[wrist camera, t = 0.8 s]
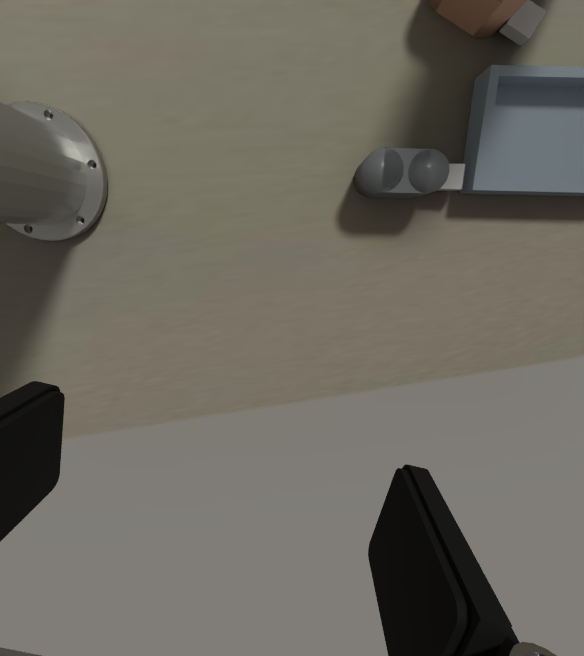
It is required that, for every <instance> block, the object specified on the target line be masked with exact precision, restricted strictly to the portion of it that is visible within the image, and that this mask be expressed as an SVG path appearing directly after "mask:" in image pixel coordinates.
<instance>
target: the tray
mask: <svg viewBox="0 0 584 656" xmlns="http://www.w3.org/2000/svg"><path fill="white" fill-rule="evenodd" d="M463 164H465V170H464V177H463V184H462V189H461V190H459V194H497V195H540V196H583V197H584V67H570V66H524V65H491V66H489V67H488V68H487V69H486V70H485V71H484V72H483V73H481V74H480V75H479V76H478V77H477V78H476V79H475V81H474V88H473V96H472V103H471V110H470V117H469V124H468V131H467V138H466V145H465V152H464V159H463Z"/></svg>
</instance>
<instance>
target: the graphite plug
mask: <svg viewBox="0 0 584 656" xmlns="http://www.w3.org/2000/svg"><path fill="white" fill-rule="evenodd" d="M464 170H465V164H449V162H448V160H447V158H446V156H445V155H444V154H443V153H442V152H440V151H439V150H436V149H418V148H379V149H377V150H375V151H373V152H372V153H371V154H370V155H369V156H368V157H367V158H366V159H365V160H364V161H363V162H362V163H361V164H360V166H359V167H358V168H357V170H356V172H355V177H354V182H355V186H356V188H357V190H358V191H359V193H360V194H362V195H363V196H365V197H370V198H416V197H419V196H423V195H426V194H429V193H432V192H435V191H437V190H444V191H457V190H461V189H462V184H463V177H464Z"/></svg>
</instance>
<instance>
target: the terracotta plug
mask: <svg viewBox="0 0 584 656" xmlns="http://www.w3.org/2000/svg"><path fill="white" fill-rule="evenodd" d="M428 3H429V5H430V7H431V8H432V9H433V10H434V11H435V12H437V13H438V14H440V15H441V16H443V17H444V18H446V19H447V20H449V21H450V22H452V23H454V24H455V25H457V26H458V27H460V28H461V29H463V30H464V31H466V32H467V33H469V34H470V35H472V36H473V37H476V38H480V39H483V38H488V37H490V36H492V35H493V34H494V33H495V32H497V31H498V29H499V28H500V27H501V26H502V27H501V29H500V31H499V32H500V33H502V34H503V35H505V36H506V37H508V38H509V39H511V40H512V41H514V42H515V43H517V44H518V45H520V46H522V45H523V44H524V43H526V42H527V41H528V40H529V39H530V38H531V36H532V35H533V33H534V31H535V30H536V28H537V26H538V24H539V23H540V21H541V19H542V18H543V16H544V14H545V13H546V11H545V10H544V9H542V8H541V7H539V6H538V5H536V4H535V3H534V2H532V1H531V0H428Z"/></svg>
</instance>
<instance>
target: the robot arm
mask: <svg viewBox="0 0 584 656" xmlns="http://www.w3.org/2000/svg"><path fill="white" fill-rule="evenodd" d="M95 165H97V167H96V168H95ZM107 184H108V181H107V174H106V168H105V164H104V161H103V158H102V155H101V153H100V151H99V149H98V147H97V145H96V143H95V142H94V141H93V139H92V138H91V136H90V135H89V134H88V132H87V131H86V130H85V129H84V128H83V127H82V126H81V125H80V124H79V123H78V122H77V121H75V120H74V119H72V118H71V117H70V116H68V115H67V114H65V113H63V112H61V111H59V110H57V109H56V108H54V107H51V106H48V105H45V104H42V103H38V102H31V101H22V102H14V103H11V104H7V105H5V104H3V103H1V102H0V223H6V224H7V225H8V226H9V227H11V228H12V229H14V230H16V231H17V232H19V233H21V234H23V235H26V236H28V237H30V238H35V239H39V240H47V241H58V240H67V239H70V238H74V237H77V236H78V235H80V234H82V233H84V232H86V231H87V230H88V229H89V228H90V227H91V226H93V224H94V223H95V222H96V220H97V219H98V218H99V216H100V214H101V212H102V210H103V208H104V205H105V201H106V197H107ZM83 219H84V221H83ZM63 414H64V394H63V393H61V392H60V389H59V387H57V386H55V385H51V384H46V383H42V382H37V381H33V382H30V383H28V384H26V385H24V386H22V387H21V388H19V389H17V390H15V391H13V392H11V393H9V394H7V395H5V396H3V397H1V398H0V541H1V540H2V539H3V538H4V537H5V536H6V535H7V534H8V533H9V532H10V531H11V530H12V529H13V528H14V527H15V526H16V525H17V524H18V523H19V522H21V521H22V519H24V517H26V516H27V515H28V514H29V512H30V511H32V510H33V509H34V508H35V506H37V505H38V504H39V503H40V502H41V501H42V499H44V498H45V497H46V496H47V495H48V494H49V493H50V492H51V491H52V490H53V488H54V487H55V485H56V483H57V482H58V479H59V475H60V474H59V473H60V459H61V444H62V430H63ZM368 556H369V562H370V567H371V572H372V577H373V582H374V587H375V592H376V596H377V602H378V606H379V612H380V617H381V621H382V626H383V631H384V636H385V641H386V646H387V650H388V656H556V655H555V654H553V653H552V652H550V651H549V650H547V649H545V648H543V647H541V646H538V645H536V644H534V643H527V642H521V643H519V641H518V639H517V637H516V635H515V634H514V631H513V630H512V628H511V627H512V625H511V623H510V621H509V619H508V617H507V615H506V614H505V612H504V610H503V608H502V606H501V604H500V603H499V601H498V599H497V597H496V595H495V593H494V591H493V590H492V588H491V586H490V584H489V582H488V580H487V578H486V577H485V575H484V573H483V571H482V569H481V567H480V565H479V564H478V562H477V560H476V558H475V556H474V555H473V552H472V551H471V549H470V547H469V545H468V543H467V541H466V540H465V538H464V536H463V534H462V532H461V530H460V528H459V527H458V525H457V523H456V521H455V519H454V517H453V515H452V514H451V512H450V510H449V508H448V506H447V504H446V502H445V501H444V499H443V497H442V495H441V493H440V491H439V489H438V488H437V486H436V484H435V482H434V480H433V478H432V477H431V475H430V473H429V471H428V470H427V469H424V468H420V467H416V466H411V465H404V467H403V468H402V469H400V468H398V469H397V470H396V472H395V474H394V477H393V480H392V482H391V485H390V488H389V491H388V493H387V496H386V499H385V502H384V505H383V508H382V510H381V513H380V516H379V518H378V521H377V524H376V527H375V530H374V533H373V535H372V538H371V541H370V544H369V551H368ZM0 656H40V655H35V654H30V653H25V652H20V651H15V650H10V649H5V648H0Z"/></svg>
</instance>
